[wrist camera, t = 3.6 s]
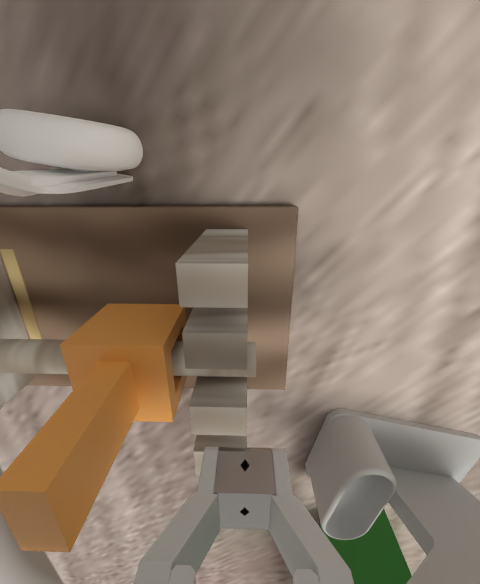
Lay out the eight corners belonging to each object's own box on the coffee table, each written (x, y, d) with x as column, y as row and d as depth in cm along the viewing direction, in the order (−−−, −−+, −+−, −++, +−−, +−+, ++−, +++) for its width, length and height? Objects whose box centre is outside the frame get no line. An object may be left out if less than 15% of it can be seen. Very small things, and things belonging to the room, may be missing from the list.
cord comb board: (-93, 206, 21) (-389, 225, 11) (294, 205, 20) (339, 226, 10) (-19, 373, 27) (-170, 481, 17) (283, 378, 26) (303, 494, 16)
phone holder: (298, 469, 31) (357, 804, 14) (328, 403, 27) (455, 753, 11) (440, 495, 32) (650, 836, 15) (487, 434, 28) (835, 799, 11)
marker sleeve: (107, 303, 17) (-84, 467, 7) (184, 304, 17) (97, 472, 7) (120, 365, 19) (-20, 564, 9) (190, 366, 19) (126, 569, 9)
